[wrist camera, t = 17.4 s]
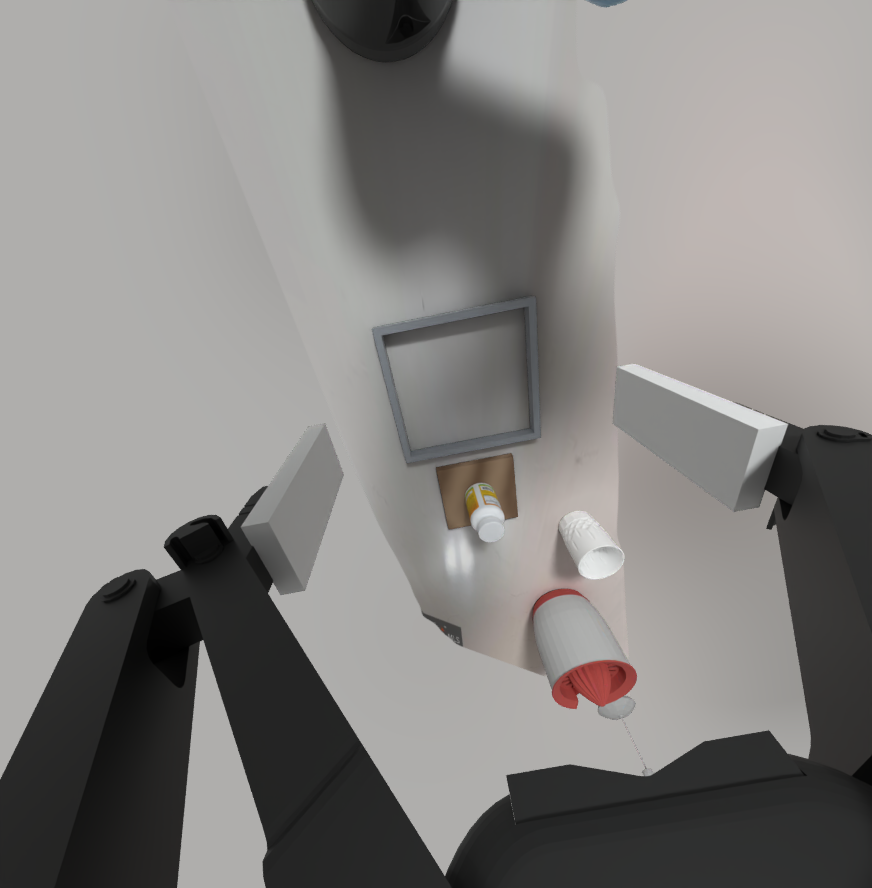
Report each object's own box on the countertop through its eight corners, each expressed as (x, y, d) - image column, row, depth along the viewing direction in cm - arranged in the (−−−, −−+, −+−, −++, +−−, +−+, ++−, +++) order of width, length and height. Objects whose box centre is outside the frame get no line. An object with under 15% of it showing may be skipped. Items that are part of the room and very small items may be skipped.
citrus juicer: (524, 635, 80) (556, 739, 62) (523, 586, 72) (561, 688, 54) (588, 626, 80) (639, 726, 62) (594, 575, 72) (655, 674, 54)
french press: (604, 627, 80) (678, 762, 58) (608, 654, 86) (677, 786, 63) (564, 638, 81) (622, 774, 59) (570, 663, 87) (626, 797, 64)
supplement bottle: (469, 510, 60) (479, 550, 51) (460, 488, 57) (469, 525, 49) (498, 501, 59) (513, 539, 50) (489, 477, 57) (504, 513, 48)
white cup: (549, 519, 63) (571, 558, 55) (587, 500, 62) (617, 538, 53) (563, 544, 67) (586, 586, 58) (600, 528, 65) (630, 567, 57)
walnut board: (511, 453, 56) (513, 456, 55) (516, 512, 62) (517, 516, 61) (436, 467, 56) (436, 471, 55) (448, 525, 62) (448, 529, 61)
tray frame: (531, 296, 45) (536, 296, 43) (536, 432, 55) (540, 437, 53) (373, 327, 46) (371, 329, 44) (406, 457, 55) (406, 463, 53)
